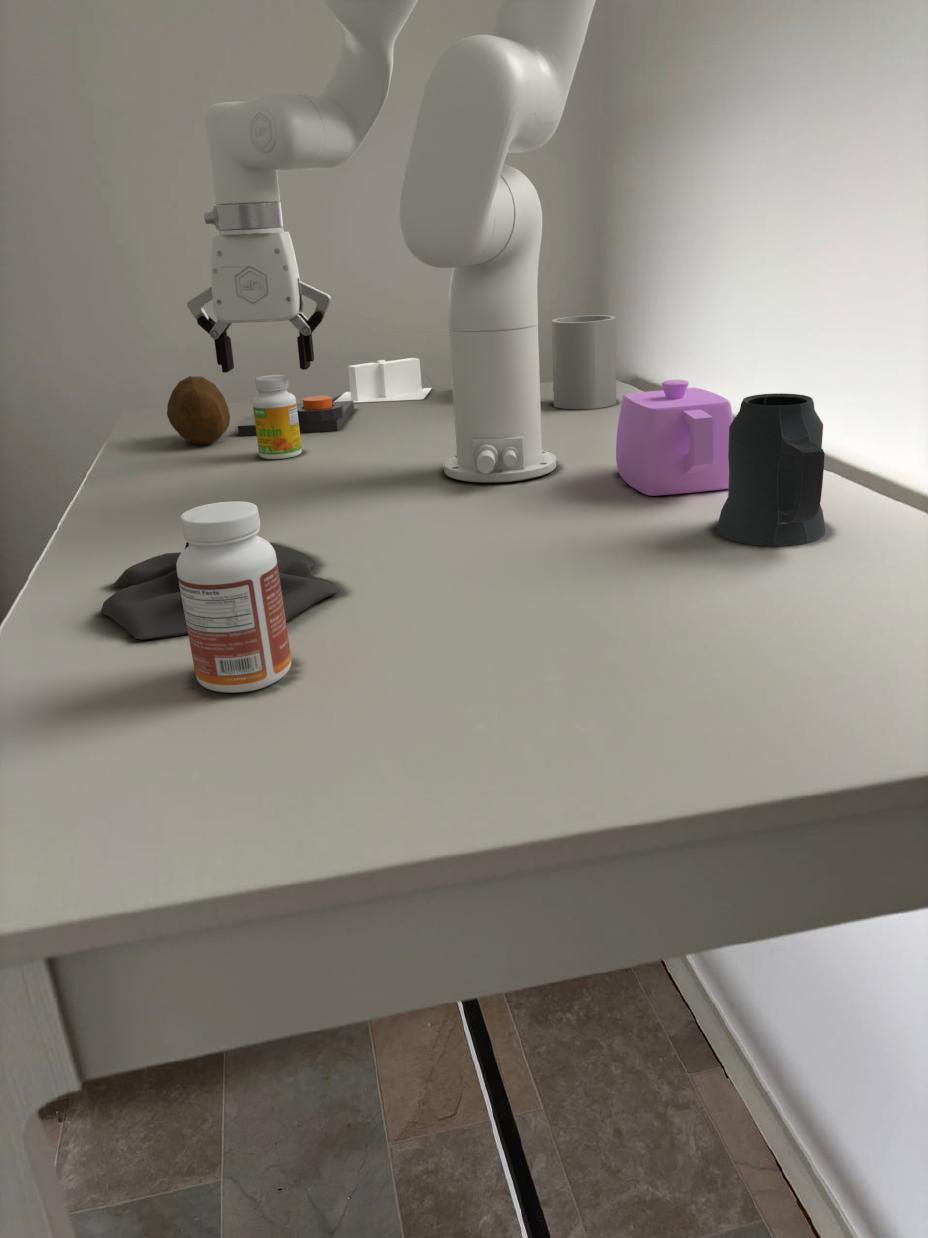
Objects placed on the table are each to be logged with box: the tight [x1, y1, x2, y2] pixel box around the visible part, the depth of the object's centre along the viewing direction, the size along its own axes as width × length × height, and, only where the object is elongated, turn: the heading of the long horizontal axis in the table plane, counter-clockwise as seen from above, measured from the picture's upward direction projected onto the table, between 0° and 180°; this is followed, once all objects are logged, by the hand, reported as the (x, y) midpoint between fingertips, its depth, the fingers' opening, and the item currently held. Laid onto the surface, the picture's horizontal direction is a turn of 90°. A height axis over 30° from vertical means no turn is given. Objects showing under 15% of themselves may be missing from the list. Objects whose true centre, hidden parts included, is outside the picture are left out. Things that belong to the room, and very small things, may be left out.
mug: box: [715, 392, 826, 547], centre depth 85 cm, size 12×9×11 cm
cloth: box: [100, 541, 340, 641], centre depth 81 cm, size 22×19×6 cm
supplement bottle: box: [252, 374, 303, 460], centre depth 128 cm, size 5×5×10 cm
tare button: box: [302, 395, 333, 410], centre depth 144 cm, size 4×4×2 cm
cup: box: [550, 314, 617, 410], centre depth 148 cm, size 9×9×12 cm
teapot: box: [615, 379, 734, 497], centre depth 104 cm, size 18×10×10 cm, turn 8°
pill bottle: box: [176, 500, 292, 694], centre depth 64 cm, size 6×6×11 cm
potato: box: [166, 375, 231, 445], centre depth 139 cm, size 8×12×9 cm
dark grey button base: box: [237, 401, 355, 437], centre depth 149 cm, size 16×14×3 cm
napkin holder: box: [333, 357, 433, 403], centre depth 167 cm, size 15×11×6 cm
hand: (266, 369), depth 126 cm, fingers open, 9 cm apart
